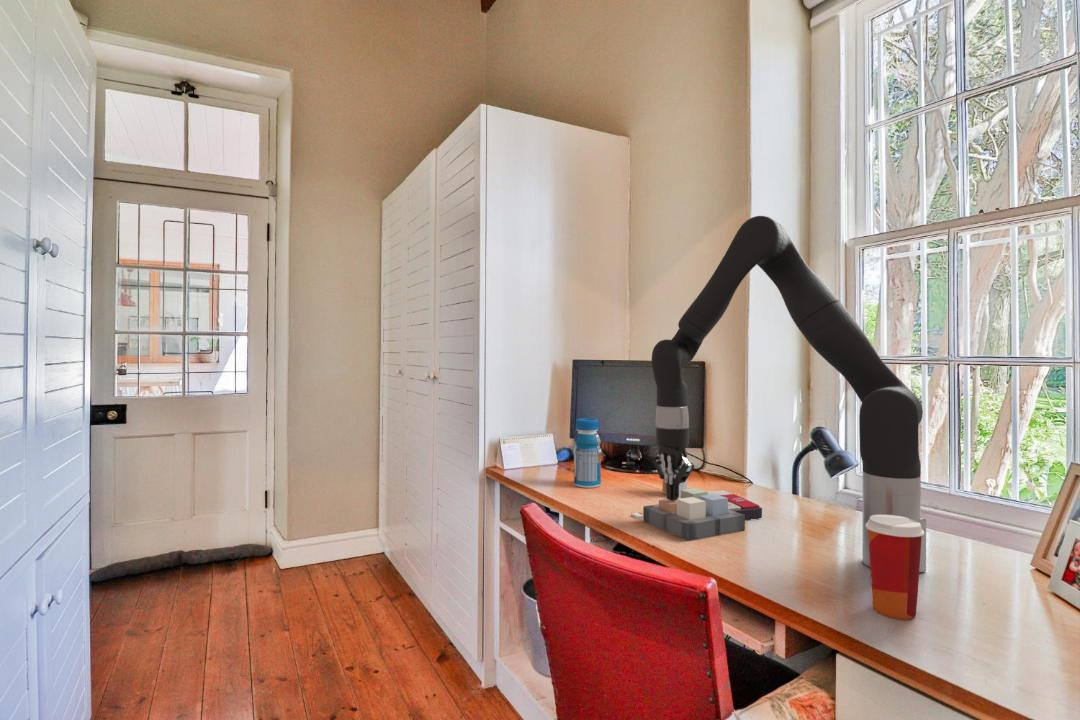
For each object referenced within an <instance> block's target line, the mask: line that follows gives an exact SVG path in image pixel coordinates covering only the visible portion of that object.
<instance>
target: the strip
mask: <svg viewBox="0 0 1080 720" xmlns="http://www.w3.org/2000/svg"><path fill="white" fill-rule="evenodd" d="M630 515H631V517H633V518H634V519H637V520H640V519H643V511H637V512H633V513H632V512H631V514H630Z"/></svg>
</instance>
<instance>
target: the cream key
mask: <svg viewBox="0 0 1080 720" xmlns="http://www.w3.org/2000/svg"><path fill="white" fill-rule="evenodd" d="M677 516H680V517H683V518H685V519H688V520H695V519H701V518H706V501H703V500H700V499H697V498H694V497H688V498H681V497H680V498H678V499H677Z"/></svg>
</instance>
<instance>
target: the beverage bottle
mask: <svg viewBox="0 0 1080 720" xmlns="http://www.w3.org/2000/svg"><path fill="white" fill-rule="evenodd" d="M575 429H576V431H577V433H576V434H575V436H574V439H573V444H574V447H573V451H572V452H573V467H574V469H573V472H574V473H573V475H574V477H573V484H574V486H576V487H578V488H583V489H594V488H599V487H600V486H601V485H602V478H601V469H602V468H601V454H602V448H601V443H602V442H601V441H602V440H601V437H600V435H599V433H598V432H597V431H599V418H592V417H591V418H590V417H589V418H587V417H583V418H582V417H581V418H577V419H576V420H575Z"/></svg>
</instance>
